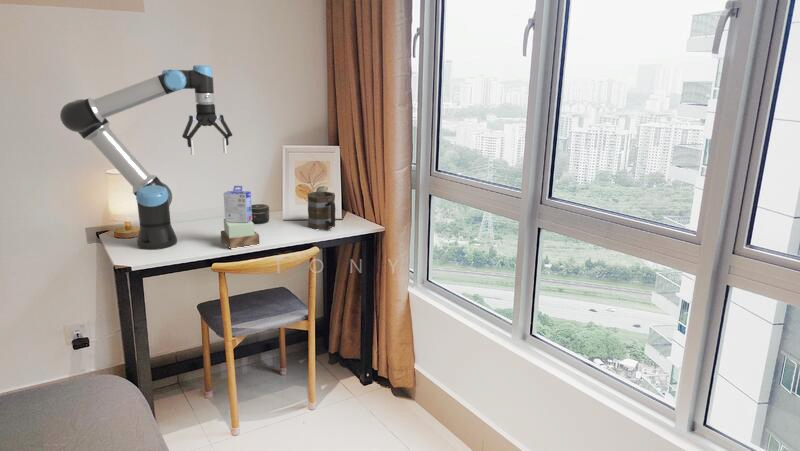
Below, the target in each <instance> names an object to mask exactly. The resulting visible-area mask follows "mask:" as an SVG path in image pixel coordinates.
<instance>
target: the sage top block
mask: <svg viewBox="0 0 800 451" xmlns="http://www.w3.org/2000/svg"><path fill="white" fill-rule="evenodd" d="M223 229H224V230H225V232H226V234H227V235H228V237H229V238H234V237H243V236H252V235H254V231H255V224H254V223H253V222H252V221H249V222H226V221H225V218H223ZM224 230H223V231H224Z"/></svg>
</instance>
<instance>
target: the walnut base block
mask: <svg viewBox="0 0 800 451" xmlns="http://www.w3.org/2000/svg"><path fill="white" fill-rule="evenodd" d="M259 234H260V233H257V231H255V230H254V235H252V236H243V237H234V238H229V237H228V235H227V234H226V232H225V230H220V239H221V243H223V242H224V243H225V244H226V245H227V246H228V247H230V248H237V247H244V246H250V245H257V244H260V235H259ZM224 243H223V244H224ZM225 244H224V245H225ZM226 245H225V246H226ZM227 246H226V247H227ZM257 246H258V245H257ZM228 247H227V248H228ZM250 247H251V246H250ZM244 248H245V247H244Z"/></svg>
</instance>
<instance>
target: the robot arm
mask: <svg viewBox="0 0 800 451" xmlns="http://www.w3.org/2000/svg"><path fill="white" fill-rule="evenodd" d="M212 68H213V67H211V65H203V64H202V65H199V64H198V65H196V64H194V65H193V66H192V69H188V70H187V69H185V70H184V69H163V70H162V72H161V74H160V75H157V76H153V77H151V78H148V79H146V80H142V81H140V82H137V83H135V84H132V85H129V86H127V87H123V88H121V89H118V90H116V91H113V92H111V93H107V94H104V95H102V96H100V97H96V98H91V97H89V98H86V99H84V98H83V99H76V100H74V101H70V102H67V103H66V104H64V106H63V107H61V108H62V109H61V110H60V114H59V115H60V116H59V117H60V120H61V123H62V124H63V126H64V127H65V128H66V129H68V130H70V131H71V132H74V133H75V132H76V133H78V134H79V135H80V137H82V138H83V140H87V141H90V142H91V143H92V144H93V145H94V147H96V148H97V149H98V151H100V152H101V154H102V155H103V156H104V157H105V158H106V159H107V160H108V161H109V162H110V164H111V165H113V167H114V168H115V169H116V170H117V171H118V172H119V174H120V175H121V176H122V177H123V178H124V179H125V180H126V181H127V182H128V183H129V185H130V186H132V193H133V195H135V199H136V202H137V212H138V220H139V231H138V235H137V239H136V245H137V247H138V248H139V249H142V248H144V249H143V250H158V249H157V248H160V249H166V248H169V246H170V247H172V245H173V246H175V245H176V244H177V243H178V237H177V235H176V232H175V230H174V228H173V226H172V223H171V214H170V213H171V212H170V206H171V203H172V201H173V193H172V191H171V188H170V187H169V186H168V185H167V184H166V183H164V182H162V181H161V180H160V178H159V177H158V176H157V175H155V174H154V175H153V174H150V173H149V172H148V170H146V168H145V167H144V166H143V165H142V164H141V162H139V160H138V159H137V158H136V157H135V156H134V155H133V154H132V153H131V151H130V150H129V149H128V148H127V147H126V146H125V144H124V143H123V142H122V141H121V140H120V139H119V138H118V137H117V135H116V134H115V133H114V132H113V130H111V129H110V122H109V120H107V118H109V117H111V116H115V115H116V114H119V113H122V112H124V111H127V110H130V109H132V108H134V107H135V108H136V107H137V106H140V105H144V104H145V103H148V102H150V101H153V100H156V99H159V98H161V97H164V96H167V95H169V94H172V93H175V92H179V91H181V90H189V89H191V90H193V89H194V96H195V97H194V98H195V103H196V104H195V108H196V110H195V111H196V112H195V113H196V115H188V122H187V124H186V126H185V128H184V131H183V132H182V133H183V134H182V135H181V137H182V138H183V139H185V140H187V141H186V142H187V147H188V148H190V155H191V156H195V148H194V140H193V139H192V138H193V136H194V135H196V133H197V131H198V130H199V129H200V128H201V127H202V126H203V127H207V126H208V127H211V126H213V127H214V128H216V130H217V131H218V132H219V133H221V135H222V136H223V137H222V149H223V153H224V154H227V153H228V152H227V146H229V143H230V142H229V138H230V137H233V133H232V131H231V130H230V128H229V126H228V125H227V122H226V121H225V118H224V115H223V114H219V115H218V114H216V104H215V92H214V91H215V90H214V89H215V88H214V76H213V74H214V73H213V69H212ZM217 119H218V121H220V123H221V125H222V127H223V128H224V130H225V131H224V130H223V129H222V128H221V127H220V126H219V125H218V123H217V122H216V121H217ZM195 120H197V123H196V124H195V126H194V127H193V128H192V130H191V131H190V129H191V127H192V125H193V122H194V121H195ZM165 247H166V248H165Z"/></svg>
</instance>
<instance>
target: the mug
mask: <svg viewBox="0 0 800 451" xmlns="http://www.w3.org/2000/svg"><path fill="white" fill-rule="evenodd" d="M335 200H336V194H335V192H330V191H312V192H309V193H307V215H308V217H307V218H308V221H307V222H308V223H307V227H308V229H311V228H312V230H316V229H323V230H329V229H328V228H331V229H333V228H332V227H334V228H336V227H335V226H336V208H337V207H336V204H335V202H336V201H335Z"/></svg>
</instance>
